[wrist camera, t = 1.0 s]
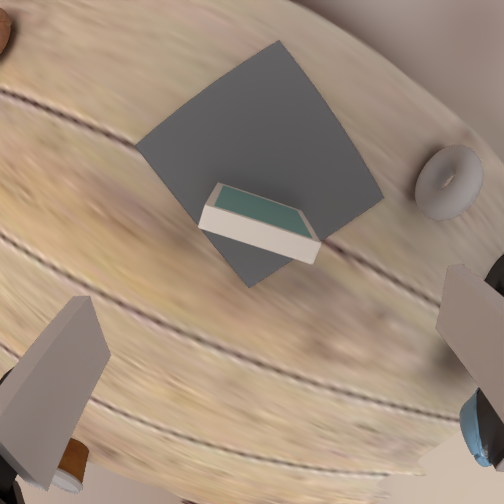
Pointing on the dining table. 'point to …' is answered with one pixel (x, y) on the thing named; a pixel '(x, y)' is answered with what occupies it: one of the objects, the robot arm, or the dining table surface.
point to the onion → (4, 29)
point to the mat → (262, 153)
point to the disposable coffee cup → (71, 467)
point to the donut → (457, 191)
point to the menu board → (259, 223)
